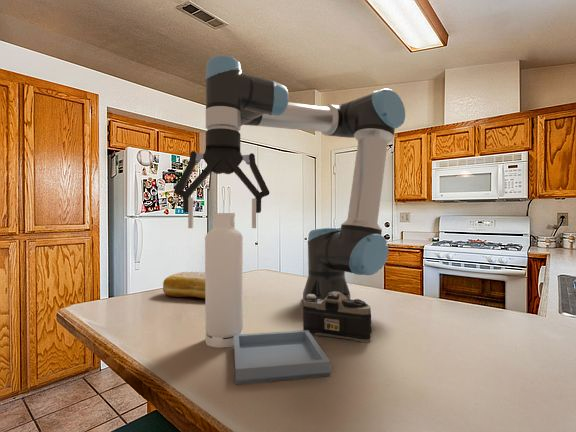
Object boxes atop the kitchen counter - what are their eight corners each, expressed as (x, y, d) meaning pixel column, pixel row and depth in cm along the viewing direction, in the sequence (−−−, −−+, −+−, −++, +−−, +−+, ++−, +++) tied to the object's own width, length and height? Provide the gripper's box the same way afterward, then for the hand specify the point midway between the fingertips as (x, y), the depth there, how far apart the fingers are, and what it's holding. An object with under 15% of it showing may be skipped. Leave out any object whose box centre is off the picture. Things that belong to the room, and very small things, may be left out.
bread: (177, 290, 125) (177, 268, 125) (244, 294, 118) (244, 271, 118) (154, 299, 112) (154, 275, 112) (229, 304, 105) (229, 278, 105)
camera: (376, 330, 81) (376, 288, 81) (369, 345, 72) (369, 298, 72) (314, 322, 87) (314, 283, 87) (299, 335, 78) (299, 291, 78)
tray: (308, 341, 74) (308, 329, 74) (330, 375, 58) (330, 361, 58) (233, 346, 71) (233, 334, 71) (235, 384, 55) (235, 369, 55)
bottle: (235, 348, 70) (234, 213, 70) (198, 345, 71) (198, 213, 71) (247, 335, 78) (247, 213, 77) (214, 332, 79) (214, 213, 79)
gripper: (277, 137, 80) (276, 227, 80) (166, 132, 76) (166, 227, 76) (282, 129, 73) (281, 228, 73) (160, 123, 68) (159, 228, 68)
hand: (222, 228), depth 74 cm, fingers open, 13 cm apart
